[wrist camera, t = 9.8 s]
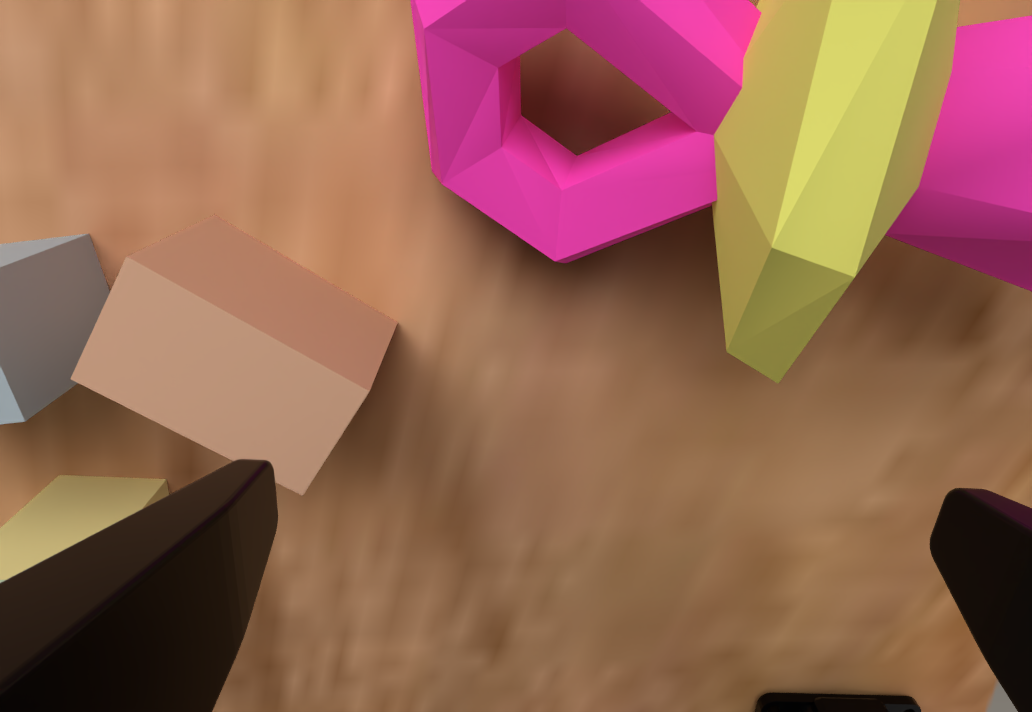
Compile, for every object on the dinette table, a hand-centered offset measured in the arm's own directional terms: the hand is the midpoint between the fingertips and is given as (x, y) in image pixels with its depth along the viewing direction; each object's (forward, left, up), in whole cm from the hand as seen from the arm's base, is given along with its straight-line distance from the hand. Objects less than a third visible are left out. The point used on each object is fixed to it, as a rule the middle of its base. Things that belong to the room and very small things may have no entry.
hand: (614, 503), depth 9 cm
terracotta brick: (-2, +8, -12) cm, 15 cm away
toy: (+5, -5, -12) cm, 14 cm away
